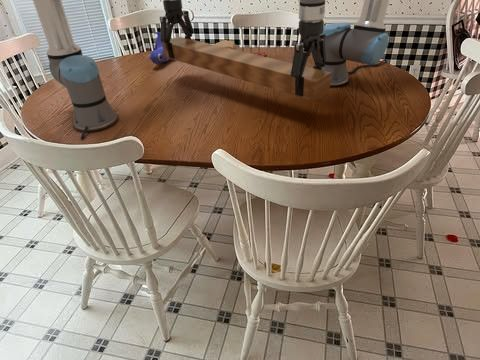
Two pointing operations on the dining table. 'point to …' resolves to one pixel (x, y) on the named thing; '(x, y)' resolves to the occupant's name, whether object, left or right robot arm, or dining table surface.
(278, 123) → the dining table surface
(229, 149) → the dining table surface
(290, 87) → the slab
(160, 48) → the toy
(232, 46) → the squash
